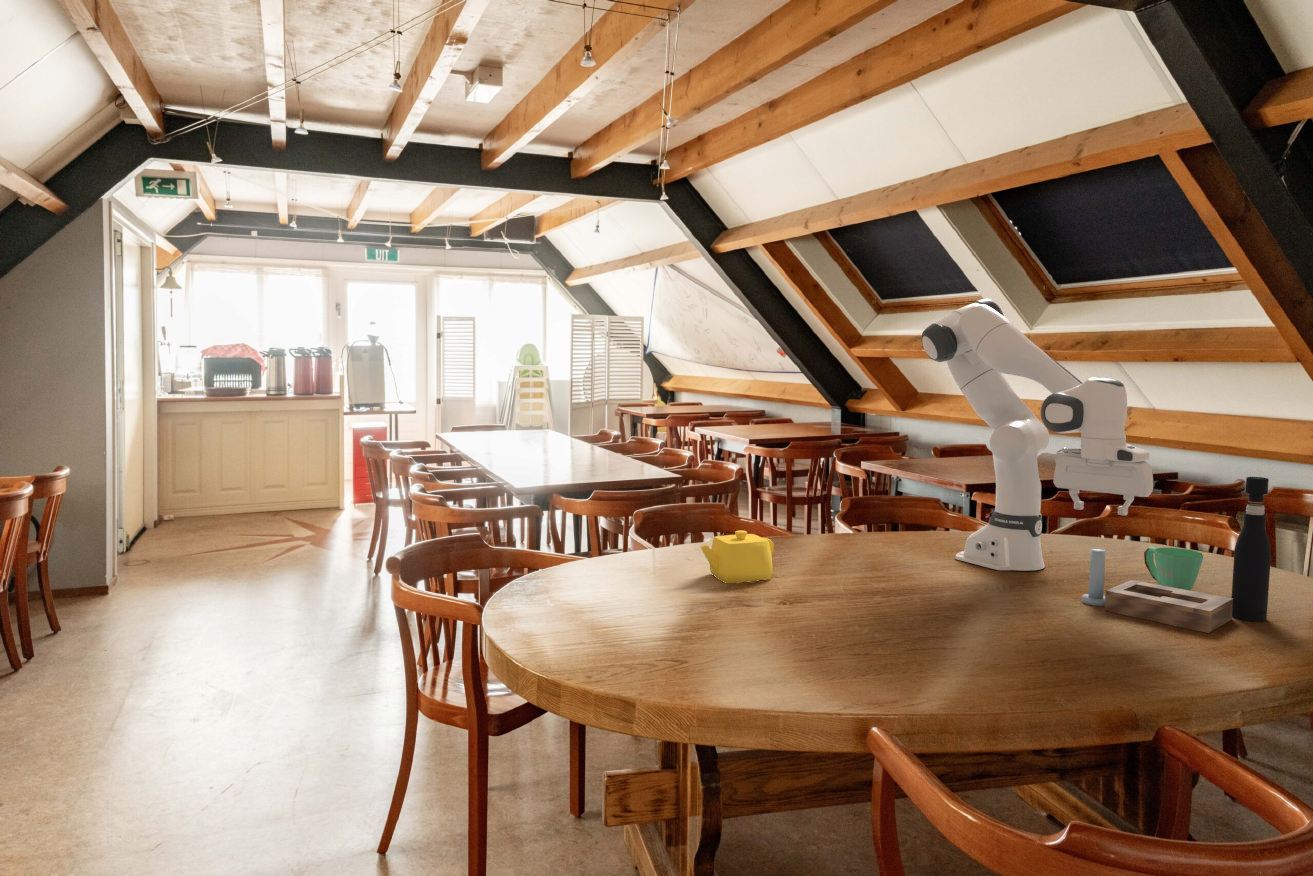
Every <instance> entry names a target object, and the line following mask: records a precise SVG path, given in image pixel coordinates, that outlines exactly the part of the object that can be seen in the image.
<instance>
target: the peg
mask: <svg viewBox="0 0 1313 876" xmlns="http://www.w3.org/2000/svg"><path fill="white" fill-rule="evenodd" d="M1106 551H1107V550H1105V549H1099V548H1091V549H1090V555H1089V556H1090V558H1089V573H1088V575H1089V576H1088V577H1089V579H1088V593H1085V594H1082V595H1081V602H1082V603H1083V604H1085V605H1089V606H1095V607H1105V595H1104V591H1105V570H1106Z"/></svg>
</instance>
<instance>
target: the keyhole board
mask: <svg viewBox="0 0 1313 876" xmlns="http://www.w3.org/2000/svg"><path fill="white" fill-rule="evenodd" d="M1104 596H1105V606H1104V611H1105V612H1110V613H1113V614H1118V615H1123V616H1124V615H1125V616H1128V617H1131V618H1132V617H1134V618H1136V619H1140V620H1141V619H1142V620H1147V621H1150V622H1156V623H1161V624H1165V625H1170V626H1174V627H1179V628H1183V629H1188V630H1192V631H1197V632H1203V633H1207V634H1210V633H1211V632H1213V631H1215V630H1216V629H1218V628H1220V627H1222V626H1223V625H1225V624H1226V623H1228V622H1230V621H1231V620H1232V619H1233V617H1232V608H1233V599H1232V598H1231V597H1226V596H1223V595H1216V594H1209V593H1204V592H1198V591H1195V590H1194V591H1193V590H1191V591H1189V590H1184V589H1178V588H1173V587H1168V586H1162V585H1160V584H1157V583H1150V582H1145V581H1140V580H1134V579H1131V580H1128V581H1126V582H1124V583H1123V582H1122V583H1120V584H1118V585H1116V586H1114V587H1111V588H1108V589H1106V590H1105V595H1104Z"/></svg>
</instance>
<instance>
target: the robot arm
mask: <svg viewBox="0 0 1313 876" xmlns="http://www.w3.org/2000/svg"><path fill="white" fill-rule="evenodd" d="M920 339H921V341H920V342H921V345H922V347H923V350H924V351H925V354H926V355H927V357H929V359H931V360H933V361H935V362H938V363H942V362H946V363H947V367H948V370H949V372H950V374H951V375H952V378H953V379H954V381H955V383H956V386H957V387H958V389H959V390H960V392H961V393H962V395H963V397H965V399H966V400H967V402H968V403H969V405H970V407H971V408H972V410H973V411H974V413H975V414H976V415H977V416H978V417H979V418H980V419H982V420H983V421H984V422H985V423H986V424H987V425H988V427H990V429H991V430H992V431H993V432H992V433H991V435H990V439H989V448H990V451H991V453H992V461H993V468H994V476H995V509H994V510H993V511H991V512H989V513H986V514H985V518H986V519H988V522H987V524H985V525H984V526H983V527H981V528H980V529H978V530H976V531H974V532H973V533H971V534H970V535H969V536H968V537H967V539H966V541H965V545H964V549H963V550H962V551H960V552H957V553H956V554H955V558H954V559H955V560H958V561H962V562H964V563H965V562H966V563H969V564H974V565H977V566H981V567H984V568H988V569H992V570H997V571H1023V572H1025V571H1038V570H1039V571H1040V570H1042V569H1044V568H1045V562H1044V558H1043V554H1042V553H1043V552H1042V546H1041V545H1042V544H1041V535H1042V531H1043V530H1042V529H1043V523H1042V522H1043V515H1042V513H1041V506H1042V500H1041V499H1042V482H1041V479H1040V475H1039V465H1038V457H1039V456H1040V455H1042V454H1043V453H1044V452H1045V451H1046V450H1047V448H1048V446H1049V444H1050V443H1049V442H1050V432H1054V433H1056V434H1057V433H1058V434H1077V433H1078V434H1079V433H1080V435H1081V436H1080V448H1069V447H1062V448H1060V449H1059V450H1057V452H1056V453H1055V458H1054V459H1055V460H1054V463H1055V469H1054V475H1053V480H1052V481H1053V484H1054V486H1055V487H1056V488H1058V489H1067V490H1068V494H1069V496H1070V498H1071V499H1072V501H1073V509H1074V510H1079V511H1080V510H1084V508H1085V506H1084V504H1085V502H1084V501H1082V500H1081V499H1080V497H1079V494H1080V491H1085V492H1095V493H1096V492H1097V493H1104V494H1114V495H1122V496H1123V500H1124V501H1125V502H1124V503H1123V504H1122V505H1119V506H1117V515H1120V516H1127V515H1128V514H1129V507H1130V506H1131V504H1132V503H1133V501H1134V500H1135V497H1141V498H1144V497H1148V496H1150V495H1151V494H1152V493H1153V491H1154V475H1153V469H1152V466H1151V464H1150V463H1149V462H1147V461H1149V459H1150V456H1151V455H1150V452H1149V450H1146V449H1143V448H1141V447H1138V446H1135V445H1132V444H1129V443H1127V435H1126V431H1125V427H1126V426H1125V425H1126V422H1127V420H1128V396H1127V390H1126V387H1125V384H1124V383H1123V382H1121V381H1120V380H1118V379H1114V378H1109V377H1102V376H1101V377H1099V376H1091V377H1088V378H1086V380H1084V381H1081V380H1080V379H1079V378H1078V377H1076V376H1075V375H1074V374H1073V373H1072V372H1070V371H1069V370H1067V369H1066V367H1064V366H1063V365H1062V364H1060V362H1058V361H1057V360H1056V359H1054V358H1053V357H1052V356H1050V355H1049V354H1047V353H1046V352H1045V351H1044V350H1042V349H1041V348H1040V347H1039V346H1037V345H1036V343H1034V342H1033V341H1032V340H1031V339H1029V338H1028V337H1027V336H1026V335H1025V334H1024V333H1023V332H1022V331H1021V330H1020V329H1019V328H1018V327H1016V326H1015V325H1014V324H1013V322H1011V321H1010V320H1009V319H1008V318H1007V317H1005V315H1004V312H1003V311H1002V308H1001V307H1000V305H998V304H997V303H996V301H993V299H990V298H981V299H978V300H975V301H973V302H972V303H970V304H967V305H965V306H962V307H960V308H958V309H956V310H954V311H952V312H951V313H948V314H947V315H946V316H944V317H942V318H941V319H939V320H938V321H936V322H935V323H932V324H930V325H928V326H927V327H926V328H925V329H924V330H923V331H922V333H921V338H920ZM1003 374H1006V375H1012V376H1018V377H1022V378H1025V379H1028V380H1032V381H1035V382H1036V383H1038V384H1040V385H1042V386H1043V387H1044V388H1045V389H1046V390H1047V391H1049V392H1050V393H1051V394H1050V395H1048V396H1046V398H1045V399H1044V400H1043V402H1042V404H1041V408H1040V418H1041V421H1042V422H1041V421H1040V420H1039V418H1038V417H1037V416H1036V415H1035V414H1034V412H1033V411H1032V410H1031V409H1030V408H1029V407H1028V405H1027V404H1026V403H1025V402H1024V401H1023V400H1022V399H1021V398H1020V397H1019V395H1018V394H1017V393H1016V392H1015V391H1014V389H1013V388H1012V387H1011V385H1010V383H1009V382H1008V380H1007V379H1006V378H1005V376H1004V375H1003ZM1049 431H1050V432H1049Z"/></svg>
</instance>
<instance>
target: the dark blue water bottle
mask: <svg viewBox="0 0 1313 876" xmlns="http://www.w3.org/2000/svg"><path fill="white" fill-rule="evenodd" d="M1245 479H1246V480H1245V493H1246V494H1248V500H1247V503H1249V504H1246V506H1245V508H1246V509H1245V513H1243V514H1244V517H1243V526H1242V527H1241V530H1240V532H1239V533H1238V536H1237V539H1236V543H1235V546H1234V550H1233V551H1234V552H1233V567H1232V568H1233V569H1232V583H1231V595H1230V596H1231V597H1230V598H1232V599H1233V608H1232V618H1235V619H1237V620H1241V621H1246V622H1257V623H1258V622H1259V623H1261V622H1266V621H1267V618H1268V605H1269V604H1268V603H1269V602H1268V601H1269V590H1270V575H1271V574H1270V573H1271V562H1272V561H1271V559H1272V550H1271V543H1270V539H1269V535H1268V533H1267V530H1266V529H1267V528H1266V521H1267V520H1266V519H1267V515H1266V514H1265V510H1266V508H1265V505H1263V504H1264V495H1268V494H1269V482H1270V481H1269V478H1268V477H1262V476H1247V477H1246V478H1245Z"/></svg>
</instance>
